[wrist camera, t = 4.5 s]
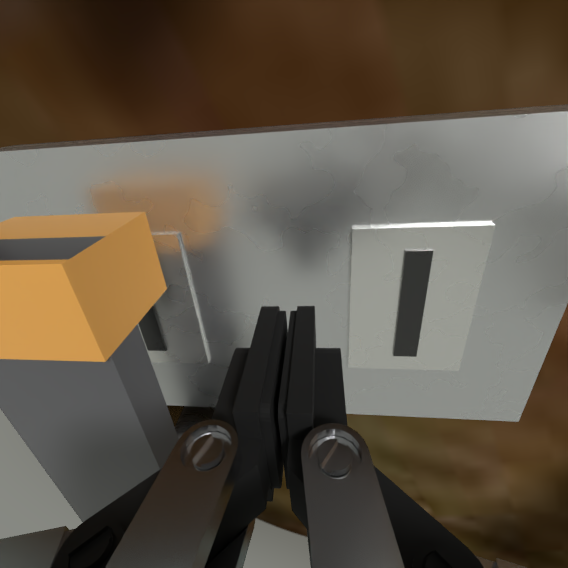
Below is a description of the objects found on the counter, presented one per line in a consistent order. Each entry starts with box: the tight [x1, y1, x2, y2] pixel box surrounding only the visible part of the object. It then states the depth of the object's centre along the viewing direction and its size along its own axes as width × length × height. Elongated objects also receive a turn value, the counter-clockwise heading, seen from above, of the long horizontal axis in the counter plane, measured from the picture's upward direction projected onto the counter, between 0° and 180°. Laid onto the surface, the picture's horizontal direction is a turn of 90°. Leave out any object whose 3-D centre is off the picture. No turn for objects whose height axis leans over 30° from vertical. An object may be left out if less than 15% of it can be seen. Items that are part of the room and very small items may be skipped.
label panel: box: [0, 104, 568, 422], centre depth 16 cm, size 24×14×3 cm, turn 94°
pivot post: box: [175, 406, 215, 438], centre depth 20 cm, size 2×2×6 cm
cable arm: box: [0, 212, 179, 522], centre depth 14 cm, size 17×5×4 cm, turn 4°
